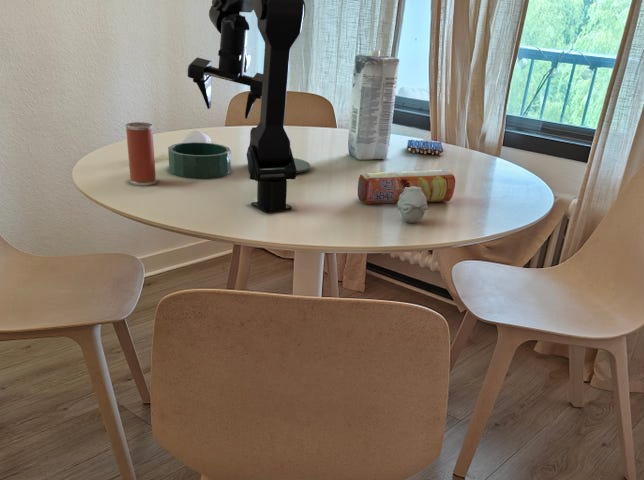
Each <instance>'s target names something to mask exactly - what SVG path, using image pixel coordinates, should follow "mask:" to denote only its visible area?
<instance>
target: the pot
mask: <svg viewBox="0 0 644 480" xmlns="http://www.w3.org/2000/svg"><path fill="white" fill-rule="evenodd" d="M167 153H168V171H169V173H170V174H172V175H174V176H177V177H181V178H186V179H198V180H199V179H200V180H201V179H202V180H206V179H217V178H222V177H225V176H228V175H229V174H230V173H231V171H232V150H231V149H230V147H229V146H226V145H223V144H219V143H213V142H211V143H204V142H189V143H182V142H179V143H175V144H171V145H170V146H167Z"/></svg>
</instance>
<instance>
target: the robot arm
mask: <svg viewBox="0 0 644 480" xmlns="http://www.w3.org/2000/svg"><path fill="white" fill-rule="evenodd" d="M253 11H254V14H255V16H256V19H257V20H256V21H257V23H256V24H257V29H258V31H259V33H260V35H261V38H262V40H263V41H264V53H263V54H264V55H263V68H262V69H263V71H262V73H260V72H256V73H255V75H254V76H249V75H246V74H245V73H247V72H248V70H249V69H250V65H251V64H250V63H251V59H252V54H249V53H248V50H247V49H248V47H247V42H248V33H249V32H248V31H250V25H249V22H248V20H247V19H246V16H245V15H241V13H252V12H253ZM305 16H306V2H305V0H211V6H210V8H209V10H208V17H209V21H210V22H211V23H212V25H213V27H214V28H215V29H216V30H217V32H218V33H219V34H220V42H219V50H218V53H217V56H218V67H215V66H213V61H212V60H209V59H205V58H202V57H198V56H197V57H195V58H194V59H193V60H192V61H191V62H190V63H189V64H188V67H187V77H188V79H189V78H190V79H192V82H193V83H195V84H196V85H197V87H198V89H199V90H200V93H201V95H202V98H203V99H204V103H205V106H206V108H207V109H208V110H210V109H211V107H212V82H213V81H212V78H213V77H214V78H216V79H221V80H225V81H228V82H233V83H236V84H239V85H240V84H241V85H245V86H248V87H249V93H247V97H246V105H245V110H244V111H245V112H244V118H245V119H248V118H249V116H250V113H251V111H252V110H253V107H254V105H255V102H256V100H260V115H259V122H258V124H257V125H256V126H255V127H254V126H253V127H251V129H250V131H249V134H250V135H249V146H248V148H247V151H246V160H247V169H248V173H249V180H251V181H255V182H257V184H256V185H257V187H256V189H257V190H256V200H257V201H252V202H251V203H250V205H251V206H253V207H254V208H256V209H258V210H260V211H262V212H264V214H265V213H266V214H269V213H276V212H283V211H289V210H293V206H291V205H290V204H288V203H287V190H288V180H292V181H293V180H296V177H297V174H298V173H297V170H296V166H295V162H294V158H295V157H294V155H293V151H292V148H291V139H290V137H289V135H288V133H287V131H286V129H285V115H286V105H287V95H288V83H289V82H288V81H289V70H290V59H291V48H292V46H293V45H294V44H295V42H296V41H297V39H298V38H299V37H300V35H301V32H302V26H303V22H304V20H305V18H306V17H305ZM272 168H284V169H275V170H260V169H272Z"/></svg>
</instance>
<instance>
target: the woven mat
mask: <svg viewBox="0 0 644 480" xmlns="http://www.w3.org/2000/svg"><path fill="white" fill-rule="evenodd" d="M406 150H407V151H408V152H411V151H412V153H413V154H415V153H417V154H418V153H419V152H420V154H424V155H426V154H427V153H428V154H431V155H432V156H433V155H434V154H435V155H439V156H442V155H443V153H444V148H443V144H442V142H441V141H440V142H439V141H431V140H419V139H416V140H415V139H408V140H407V145H406Z"/></svg>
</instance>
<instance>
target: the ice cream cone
mask: <svg viewBox="0 0 644 480" xmlns="http://www.w3.org/2000/svg"><path fill="white" fill-rule="evenodd" d="M189 142H204V143H212V141H211V138H210V136H208V135H207V134H205V133H203V132H201V131H199V130H191V131H189V132H188V133H187V134H186V136H185V137H184V139H183V140H182V141H181V143H189Z"/></svg>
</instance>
